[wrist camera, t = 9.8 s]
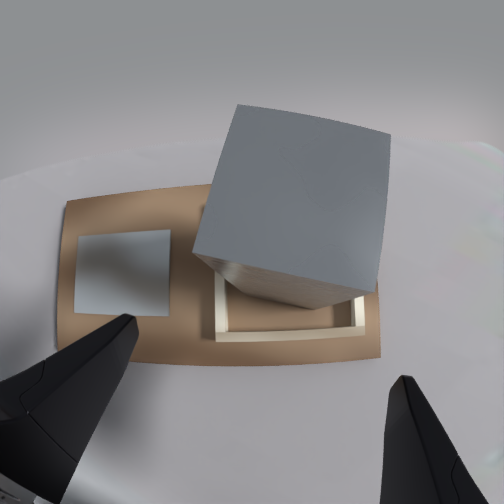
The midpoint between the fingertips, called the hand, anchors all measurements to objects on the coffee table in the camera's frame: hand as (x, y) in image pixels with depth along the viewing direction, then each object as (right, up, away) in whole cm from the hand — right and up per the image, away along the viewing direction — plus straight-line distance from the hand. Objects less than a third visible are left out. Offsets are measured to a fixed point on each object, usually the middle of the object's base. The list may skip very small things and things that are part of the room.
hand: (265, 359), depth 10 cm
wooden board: (-4, +2, +13) cm, 13 cm away
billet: (+2, +2, +11) cm, 12 cm away
